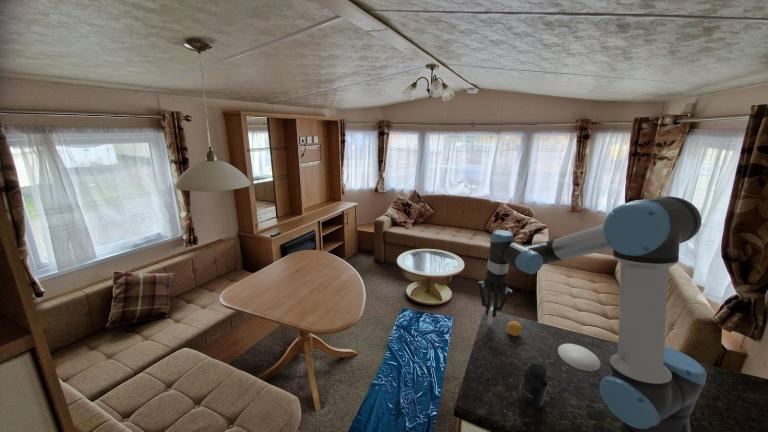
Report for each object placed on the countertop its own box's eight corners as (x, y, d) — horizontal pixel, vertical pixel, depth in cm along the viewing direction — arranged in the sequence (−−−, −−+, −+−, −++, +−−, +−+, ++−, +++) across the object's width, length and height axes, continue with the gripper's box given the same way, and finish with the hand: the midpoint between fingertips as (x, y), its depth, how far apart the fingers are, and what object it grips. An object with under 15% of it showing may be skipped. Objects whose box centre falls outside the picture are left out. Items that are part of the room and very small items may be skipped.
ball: (519, 341, 118) (521, 328, 116) (504, 335, 121) (506, 323, 119) (521, 332, 122) (524, 321, 121) (507, 327, 125) (509, 316, 123)
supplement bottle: (519, 406, 92) (526, 374, 88) (517, 387, 98) (523, 356, 94) (545, 412, 90) (553, 380, 86) (541, 393, 96) (548, 362, 92)
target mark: (601, 377, 102) (601, 377, 102) (556, 361, 109) (556, 360, 109) (599, 352, 113) (599, 352, 113) (559, 339, 119) (559, 339, 119)
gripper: (517, 270, 118) (508, 322, 125) (482, 262, 124) (476, 312, 132) (513, 279, 112) (504, 333, 119) (477, 269, 118) (470, 321, 126)
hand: (489, 322), depth 125 cm, fingers closed
